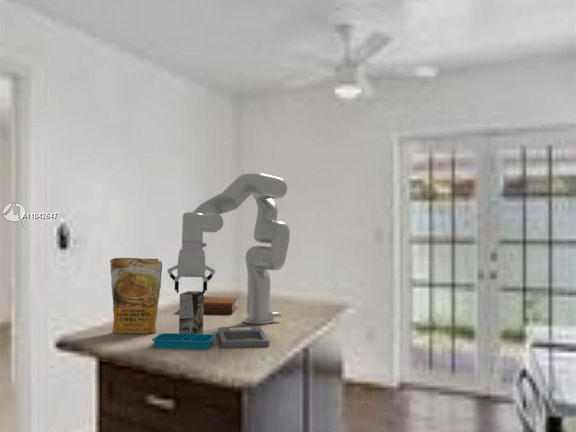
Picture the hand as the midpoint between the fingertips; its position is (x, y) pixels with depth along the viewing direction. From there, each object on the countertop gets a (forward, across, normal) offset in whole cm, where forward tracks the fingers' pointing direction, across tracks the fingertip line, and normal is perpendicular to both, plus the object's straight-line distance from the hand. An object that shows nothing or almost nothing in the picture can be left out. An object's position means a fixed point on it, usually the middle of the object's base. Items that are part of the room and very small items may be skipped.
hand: (190, 292), depth 215 cm
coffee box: (+16, -1, -1) cm, 16 cm away
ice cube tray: (+17, +2, +13) cm, 22 cm away
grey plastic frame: (+16, -19, +7) cm, 25 cm away
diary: (+16, -10, -55) cm, 58 cm away
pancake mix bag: (+16, +20, -10) cm, 28 cm away
